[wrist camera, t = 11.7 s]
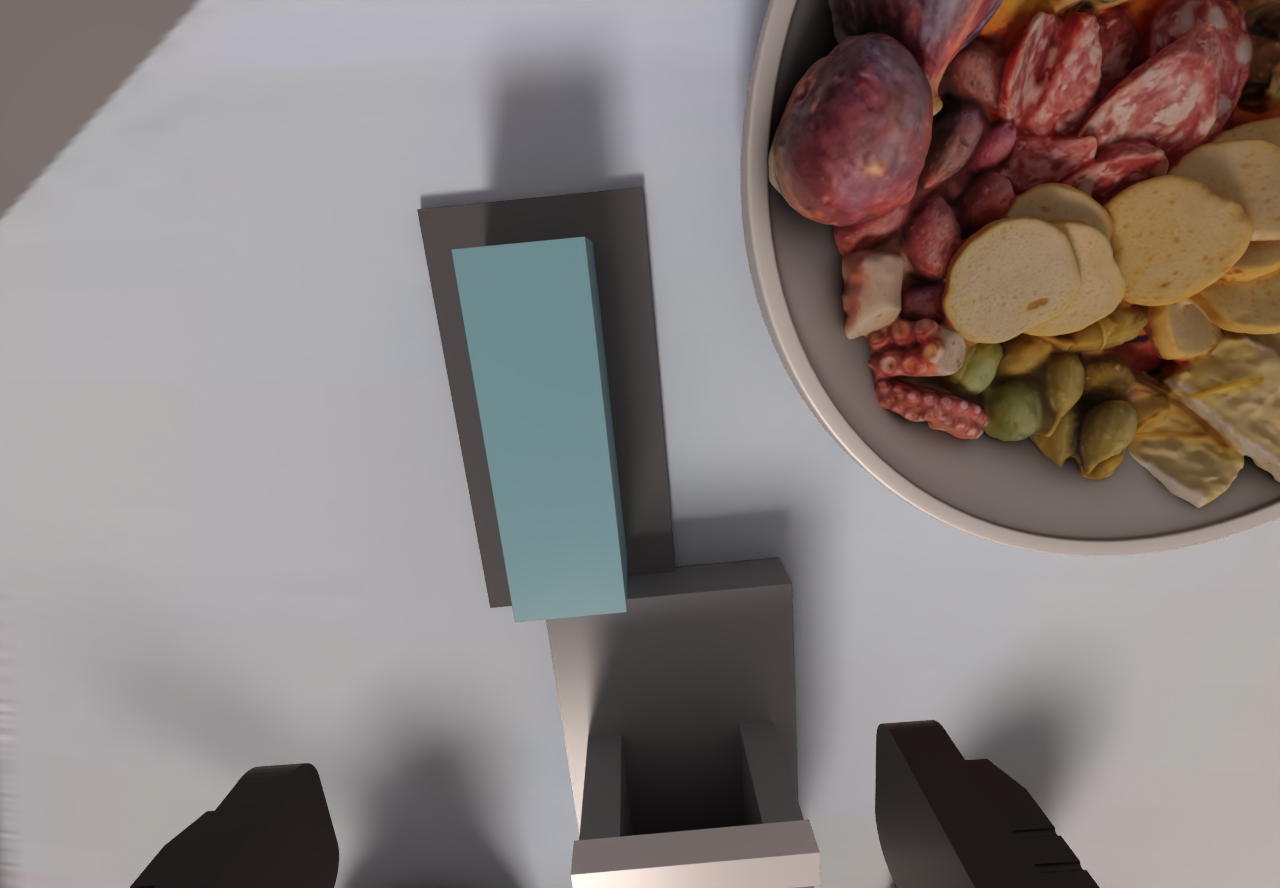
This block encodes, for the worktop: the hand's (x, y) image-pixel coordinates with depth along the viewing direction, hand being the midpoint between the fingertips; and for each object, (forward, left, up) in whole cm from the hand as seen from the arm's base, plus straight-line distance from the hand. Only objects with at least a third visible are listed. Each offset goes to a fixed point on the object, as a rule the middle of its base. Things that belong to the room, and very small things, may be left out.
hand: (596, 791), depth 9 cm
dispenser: (-2, +19, -20) cm, 27 cm away
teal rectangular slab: (+2, -1, -19) cm, 19 cm away
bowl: (-20, -9, -20) cm, 30 cm away
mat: (+2, -1, -20) cm, 20 cm away
